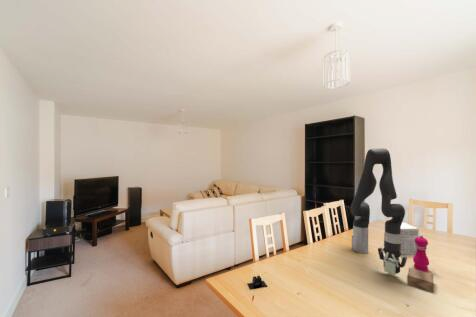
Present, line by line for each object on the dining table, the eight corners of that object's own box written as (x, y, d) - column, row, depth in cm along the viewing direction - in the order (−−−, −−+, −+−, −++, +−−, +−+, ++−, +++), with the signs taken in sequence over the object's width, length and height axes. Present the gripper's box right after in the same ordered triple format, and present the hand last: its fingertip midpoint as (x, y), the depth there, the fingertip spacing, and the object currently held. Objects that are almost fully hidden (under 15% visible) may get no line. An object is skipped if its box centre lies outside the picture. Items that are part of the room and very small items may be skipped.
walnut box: (407, 284, 115) (407, 275, 115) (409, 276, 122) (409, 267, 122) (433, 292, 108) (433, 282, 108) (433, 283, 116) (433, 274, 115)
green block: (384, 270, 123) (384, 260, 123) (388, 268, 126) (388, 257, 125) (394, 275, 119) (394, 264, 119) (398, 272, 121) (399, 261, 121)
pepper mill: (422, 272, 125) (423, 237, 125) (409, 266, 132) (410, 233, 132) (432, 270, 127) (432, 236, 126) (418, 264, 134) (419, 231, 133)
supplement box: (419, 254, 147) (419, 228, 146) (398, 254, 147) (399, 228, 146) (404, 246, 160) (404, 222, 159) (385, 246, 160) (386, 222, 160)
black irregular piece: (265, 280, 120) (265, 272, 120) (271, 288, 113) (271, 279, 113) (243, 284, 117) (243, 275, 117) (247, 292, 110) (247, 283, 110)
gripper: (374, 237, 126) (374, 266, 126) (404, 246, 113) (403, 279, 114) (381, 234, 129) (381, 263, 130) (410, 243, 117) (410, 274, 118)
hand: (391, 270), depth 122 cm, fingers closed on green block, 5 cm apart
